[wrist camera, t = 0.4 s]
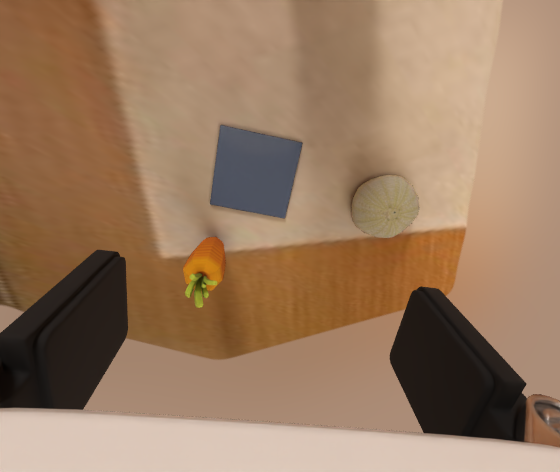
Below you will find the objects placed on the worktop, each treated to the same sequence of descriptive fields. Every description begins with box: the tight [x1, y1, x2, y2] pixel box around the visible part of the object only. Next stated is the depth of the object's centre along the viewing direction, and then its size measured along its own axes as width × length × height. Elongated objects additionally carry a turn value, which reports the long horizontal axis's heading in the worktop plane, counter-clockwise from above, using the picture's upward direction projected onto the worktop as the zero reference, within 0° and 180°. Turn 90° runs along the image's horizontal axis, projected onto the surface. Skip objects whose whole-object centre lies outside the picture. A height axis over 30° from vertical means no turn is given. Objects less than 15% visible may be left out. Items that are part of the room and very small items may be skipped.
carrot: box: [183, 237, 226, 308], centre depth 42 cm, size 5×5×15 cm
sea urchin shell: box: [351, 175, 419, 238], centre depth 45 cm, size 9×8×8 cm
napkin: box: [210, 125, 302, 218], centre depth 45 cm, size 11×11×1 cm
